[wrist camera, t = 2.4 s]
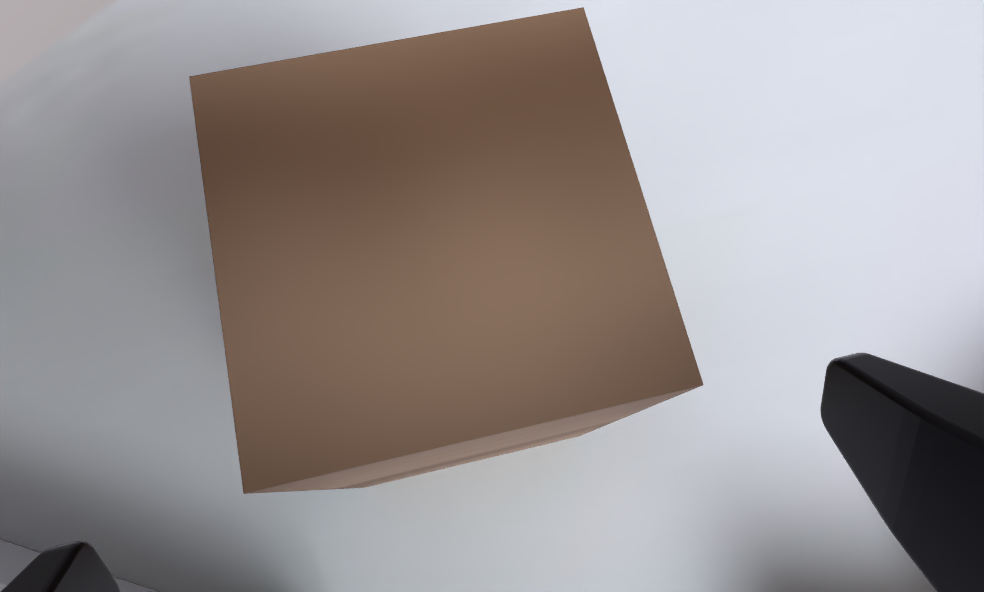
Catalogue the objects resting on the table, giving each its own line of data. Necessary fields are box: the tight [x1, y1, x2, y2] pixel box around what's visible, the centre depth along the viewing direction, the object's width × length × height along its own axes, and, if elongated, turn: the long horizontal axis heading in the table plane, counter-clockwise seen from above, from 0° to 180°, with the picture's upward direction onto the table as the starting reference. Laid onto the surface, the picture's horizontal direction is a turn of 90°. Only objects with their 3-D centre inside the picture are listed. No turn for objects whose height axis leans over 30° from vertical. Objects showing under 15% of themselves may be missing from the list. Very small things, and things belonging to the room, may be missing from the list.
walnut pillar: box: [190, 8, 703, 494], centre depth 14 cm, size 6×6×10 cm
